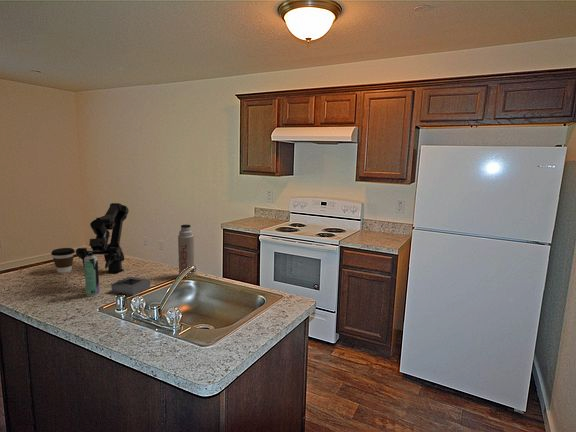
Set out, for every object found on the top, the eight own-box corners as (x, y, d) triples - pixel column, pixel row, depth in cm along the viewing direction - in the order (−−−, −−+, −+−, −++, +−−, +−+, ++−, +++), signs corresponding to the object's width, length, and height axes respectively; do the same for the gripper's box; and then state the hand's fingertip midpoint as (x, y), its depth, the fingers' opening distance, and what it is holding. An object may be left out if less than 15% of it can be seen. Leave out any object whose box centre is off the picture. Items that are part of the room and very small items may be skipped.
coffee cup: (49, 271, 198) (47, 250, 196) (70, 267, 206) (69, 246, 204) (57, 276, 191) (55, 253, 189) (79, 271, 200) (78, 249, 198)
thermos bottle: (188, 279, 191) (187, 227, 187) (175, 277, 194) (174, 225, 190) (197, 274, 199) (196, 224, 194) (185, 272, 202) (184, 223, 197)
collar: (130, 284, 182) (129, 276, 182) (150, 287, 179) (149, 279, 178) (111, 292, 171) (111, 284, 170) (132, 296, 167) (132, 287, 167)
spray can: (102, 293, 169) (99, 251, 166) (91, 297, 165) (88, 254, 161) (94, 291, 172) (91, 250, 168) (83, 295, 167) (80, 253, 163)
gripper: (75, 231, 172) (67, 260, 163) (117, 231, 175) (111, 259, 166) (83, 243, 180) (75, 272, 171) (123, 243, 183) (117, 271, 174)
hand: (95, 268), depth 171 cm, fingers open, 9 cm apart
